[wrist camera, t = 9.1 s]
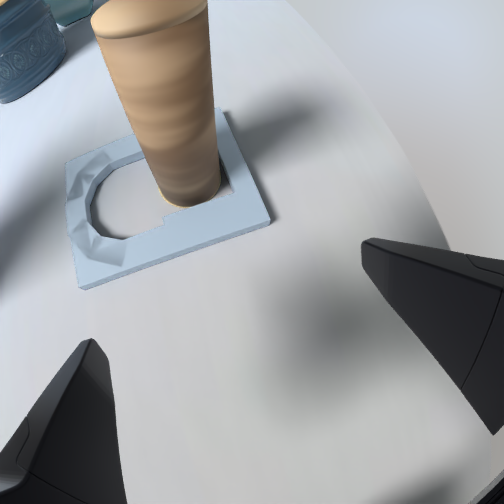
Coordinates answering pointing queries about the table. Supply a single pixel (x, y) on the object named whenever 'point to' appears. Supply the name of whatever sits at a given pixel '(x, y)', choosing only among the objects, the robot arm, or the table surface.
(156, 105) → the tan peg
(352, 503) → the table surface
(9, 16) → the canister
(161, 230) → the keyhole plate
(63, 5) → the flower pot
